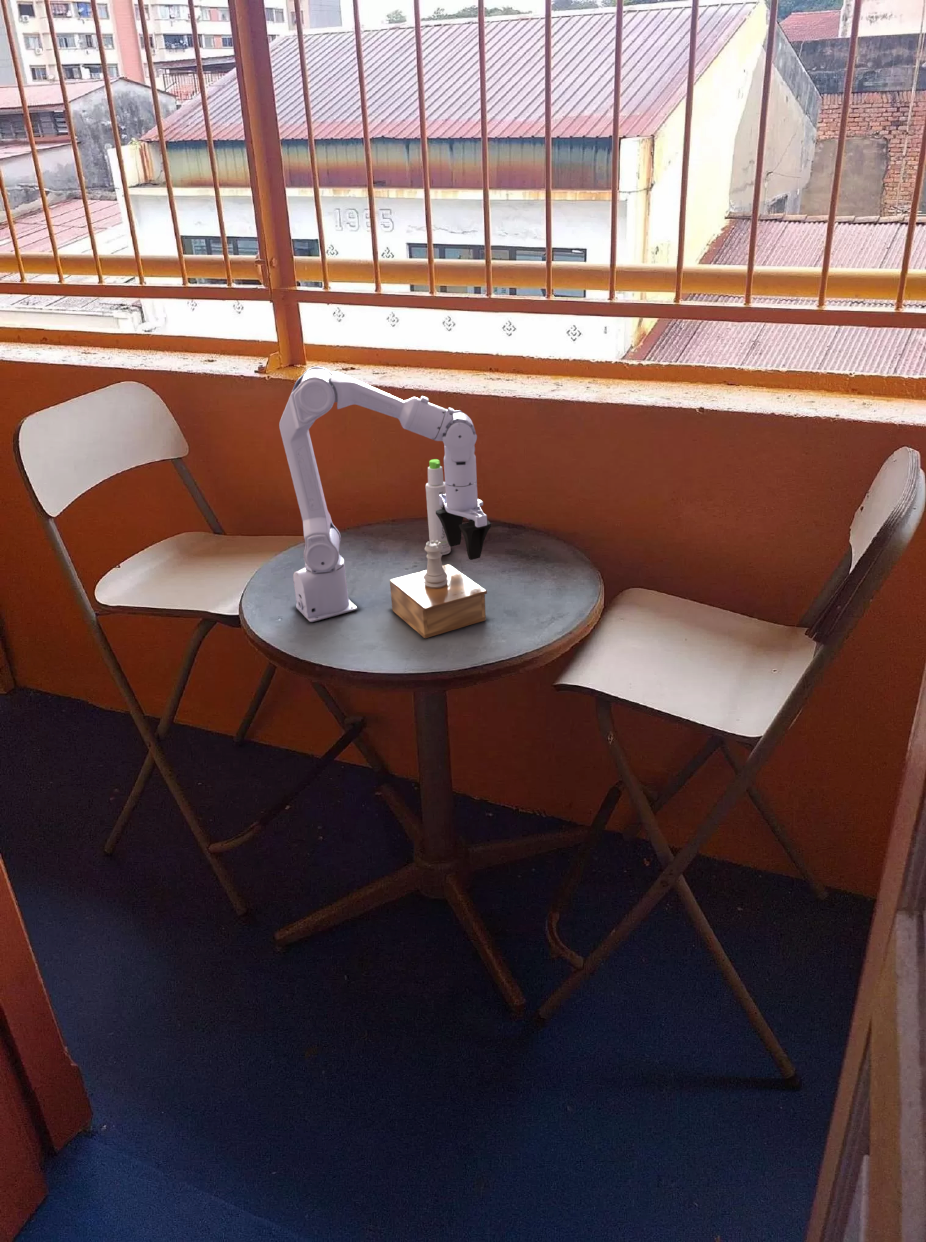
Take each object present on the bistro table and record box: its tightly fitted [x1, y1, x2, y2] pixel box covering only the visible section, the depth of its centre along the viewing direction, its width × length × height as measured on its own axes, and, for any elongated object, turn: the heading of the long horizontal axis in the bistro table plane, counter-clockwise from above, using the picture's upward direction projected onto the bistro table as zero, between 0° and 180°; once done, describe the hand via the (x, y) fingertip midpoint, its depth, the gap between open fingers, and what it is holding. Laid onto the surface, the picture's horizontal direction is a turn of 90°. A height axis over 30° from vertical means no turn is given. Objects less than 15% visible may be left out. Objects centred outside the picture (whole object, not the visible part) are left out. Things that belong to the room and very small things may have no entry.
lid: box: [389, 563, 488, 611], centre depth 166 cm, size 14×12×1 cm
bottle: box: [425, 458, 452, 556], centre depth 192 cm, size 4×4×20 cm
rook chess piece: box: [424, 540, 448, 589], centre depth 165 cm, size 4×4×8 cm
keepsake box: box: [389, 582, 487, 639], centre depth 168 cm, size 13×12×6 cm
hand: (464, 551), depth 171 cm, fingers open, 7 cm apart
